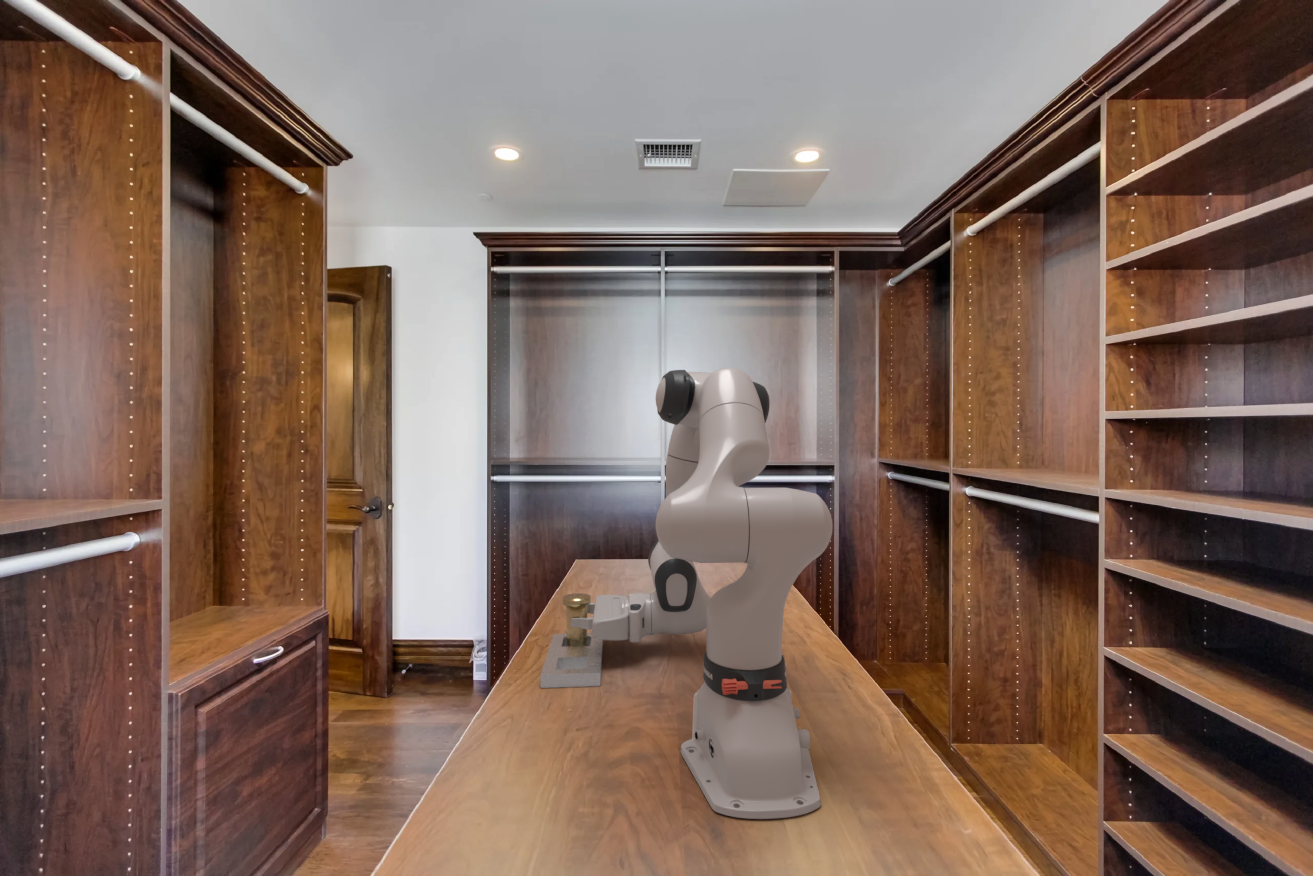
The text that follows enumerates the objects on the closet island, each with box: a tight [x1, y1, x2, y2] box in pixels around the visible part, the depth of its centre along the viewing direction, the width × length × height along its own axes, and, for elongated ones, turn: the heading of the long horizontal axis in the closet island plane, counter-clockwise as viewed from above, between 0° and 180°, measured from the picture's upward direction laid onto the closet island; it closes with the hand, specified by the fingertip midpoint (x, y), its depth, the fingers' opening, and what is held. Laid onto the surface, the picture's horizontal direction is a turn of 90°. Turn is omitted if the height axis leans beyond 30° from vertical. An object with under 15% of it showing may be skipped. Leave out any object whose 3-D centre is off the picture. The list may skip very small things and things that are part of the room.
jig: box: [540, 632, 604, 689], centre depth 119 cm, size 22×11×2 cm, turn 4°
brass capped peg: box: [562, 592, 592, 647], centre depth 125 cm, size 6×6×12 cm
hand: (572, 616), depth 125 cm, fingers open, 7 cm apart
